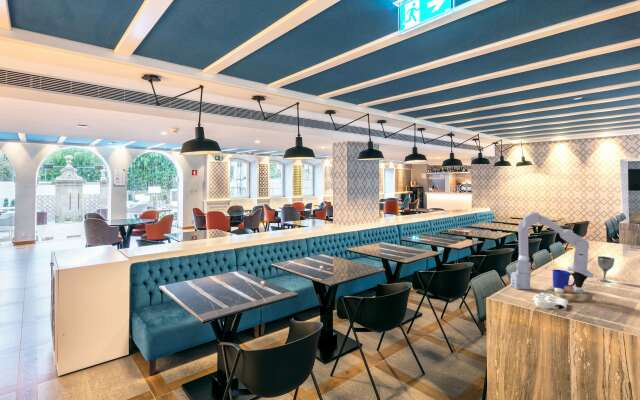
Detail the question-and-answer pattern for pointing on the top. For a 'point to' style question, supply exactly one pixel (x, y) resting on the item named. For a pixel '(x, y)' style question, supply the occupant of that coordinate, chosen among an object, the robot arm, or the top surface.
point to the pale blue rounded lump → (578, 291)
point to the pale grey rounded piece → (558, 290)
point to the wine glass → (605, 266)
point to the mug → (561, 278)
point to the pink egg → (568, 289)
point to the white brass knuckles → (549, 301)
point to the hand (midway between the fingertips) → (578, 287)
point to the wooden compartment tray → (571, 296)
